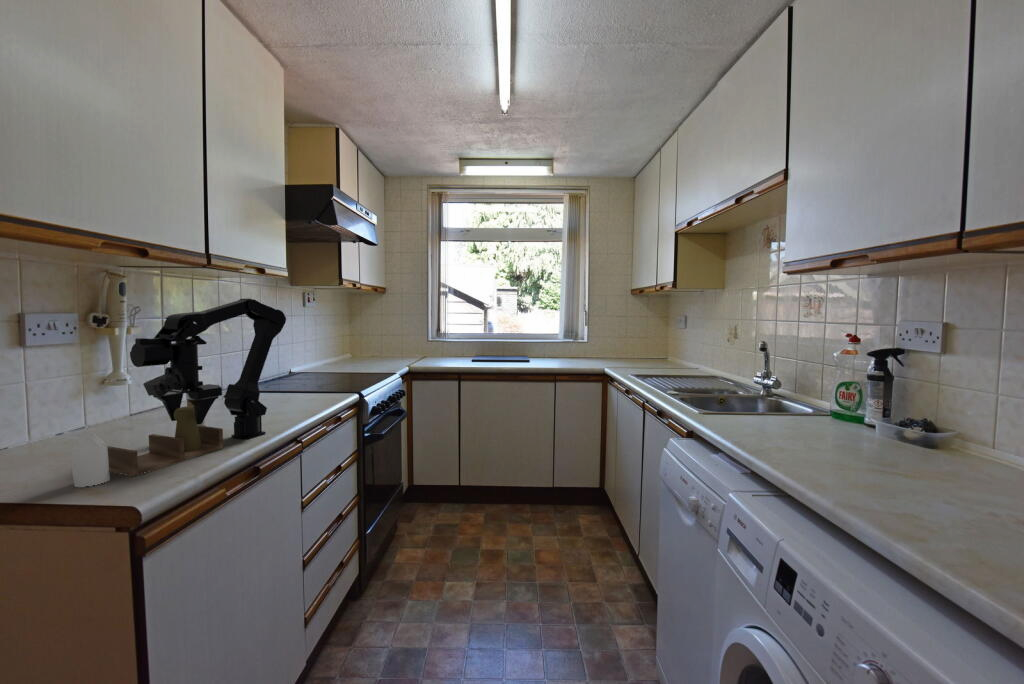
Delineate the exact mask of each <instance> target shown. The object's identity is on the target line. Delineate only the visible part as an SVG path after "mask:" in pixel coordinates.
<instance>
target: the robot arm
mask: <svg viewBox="0 0 1024 684" xmlns="http://www.w3.org/2000/svg"><path fill="white" fill-rule="evenodd" d="M242 315H243V316H244V315H245V316H246V317H247V318H249V319H250V320H252V321H253V324H252V325H253V330H254V337H253V341H252V343H251V345H250V347H249V351H248V355H247V357H246V360H245V362H244V365H243V368H242V370H241V374H240V377H239V379H238V380H237V381H236V383H233V384H232V383H229V384H227V388H226V392H225V394H224V396H223V388H222V387H221V385H219V384H211V383H209V384H204V381H201V380H200V379H199V378H200V375H199V373H200V372H199V371H202V370H203V365H199V348H198V346H200V345H207V343H208V342H207V341H206V340H205V339H203V338H202V337H201V336H200V335H199V334H201V333H203V332H205V331H207V330H208V329H209V328H210V327H211V326H213V325H216V324H219V323H221V322H225V321H228V320H230V319H234V318H236V317H237V318H238V317H240V316H242ZM286 323H287V316H285V313H284V311H282V310H281V309H275V308H274V307H271V306H268V305H266V304H264V303H261V302H260V301H259V300H256V299H254V298H240V299H238V300H235V301H232V302H229V303H225V304H222V305H219V306H215V307H212V308H207V309H205V310H201V311H193V312H183V313H172V314H170V315H168V316H166V318H165V320H164V324H163V326H162V327H161V329H160V330H159V331H158V332H157V333H156V335H155V336H154V337H153V338H145V337H144V338H142V337H140V338H139V337H137V338H135V339H134V340H135V341H134V344H133V345H132V347H131V350H130V351H129V357H130V361H131V363H132V365H133V366H135V367H136V368H142V367H143V368H144V367H155V366H166V365H167V364H169V363H170V364H169V365H170V366H169V367H166V368H165V369H164V374H162V375H158V376H157V377H154V378H152V379H149V380H147V381H146V382H144V383H143V387H144V389H145V391H146V392H147V393H146V394H147V395H148V396H149V397H151V396H152V398H155V399H157V400H159V401H161V402H162V404H163V406H164V408H165V409H166V412H167V414H168V416H169V419H170V421H171V422H175V421H176V420H175V418H174V412H175V410H176V409H178V408H181V405H182V401H183V397H184V394H186V393H188V396H189V397H190V398H191V399H189V400H188V401H189V402H191V403H192V404H193V405H194V411H195V418H196V423H197V424H202V422H203V420H204V419H206V418H207V415H208V413H209V411H210V409H211V407H213V404H214V402H215V401H216V400H217V399H219V397H220V396H223V397H222V398H223V399H224V402H223V403H224V406H225V407H226V409H227V410H228V411H229V413H230V415H231V416H234V422H233V434H231V435H230V436H231V438H236V439H244V440H248V439H252V438H255V437H259V436H262V435H265V434H266V431H263V430H262V429H263V428H262V427H263V426H262V416H265V415H266V413H267V410H268V407H267V406H265V405H264V404H263V403H262V402H260V395H261V393H260V388H259V380H260V379H261V376H262V372H263V369H264V366H265V364H266V361H267V358H268V355H269V352H270V349H271V347H272V346H271V345H272V343H273V340H274V339H275V338H276V337H277V336H278V335H279V334H280V333H281V332H282V330H283V328H284V326H285V325H286ZM176 422H177V421H176Z"/></svg>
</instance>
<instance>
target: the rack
mask: <svg viewBox="0 0 1024 684" xmlns="http://www.w3.org/2000/svg"><path fill="white" fill-rule="evenodd" d="M198 429H199V434H200V439H201V444H202V448H200V449H198V450H194V451H189V452H184V439H182V438H175V436H167V435H160V434H155V433H153V434H148V451H149V452H148V453H147V452H146V453H144V454H140V455H138V451H137V450H133V449H127V448H121V447H114V446H109V445H107V447H108V460H109V471H110V472H109V473H112V472H116V473H115V474H117V473H122V474H127V475H131V476H130V477H132V476H134V475H137V474H140V475H142V474H141V473H143V474H145V473H144V472H146V473H149V472H148V471H150V472H152V470H153V471H155V469H156V470H159V469H162V468H161V467H163V468H165V466H166V467H168V465H169V466H172V465H175V464H178V462H179V463H182V462H184V460H185V461H188V460H191V459H190V458H192V459H194V458H193V457H195V458H197V457H196V456H198V457H200V455H201V456H204V455H208V454H211V453H213V452H216V451H219V450H220V449H221V450H223V449H224V434H223V431H224V429H223V428H221V427H212V426H206V425H205V426H199V425H198ZM210 452H211V453H210ZM207 453H208V454H207ZM203 454H204V455H203ZM187 459H188V460H187ZM181 461H182V462H181ZM174 463H175V464H174ZM171 464H172V465H171ZM158 468H159V469H158ZM122 474H121V475H122ZM127 475H126V476H127ZM137 476H138V475H137ZM134 477H135V476H134Z"/></svg>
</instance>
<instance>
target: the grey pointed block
mask: <svg viewBox="0 0 1024 684" xmlns="http://www.w3.org/2000/svg"><path fill="white" fill-rule="evenodd" d="M107 446H108V445H107V444H106V443H105V442H104V441H103V440H102V439H101V438H100V437H98V436H97V435H96V434H95V433H93V432H91V431H90V430H87V429H86V428H85V427H84V428H82V429H81V430H80V433H79V436H78V438H77V441H76V443H75V444H74V445H73V447H72V448H71V450H70V456H71V458H70V459H71V476H72V479H73V485H74V487H75V488H86V487H85V486H89V487H93V485H95V486H99V485H102V484H101V483H103V484H105V483H107V481H108V482H109V481H110V480H111V475H110V474H111V473H110V472H109V460H108V447H107ZM104 482H105V483H104ZM98 484H99V485H98Z"/></svg>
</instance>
